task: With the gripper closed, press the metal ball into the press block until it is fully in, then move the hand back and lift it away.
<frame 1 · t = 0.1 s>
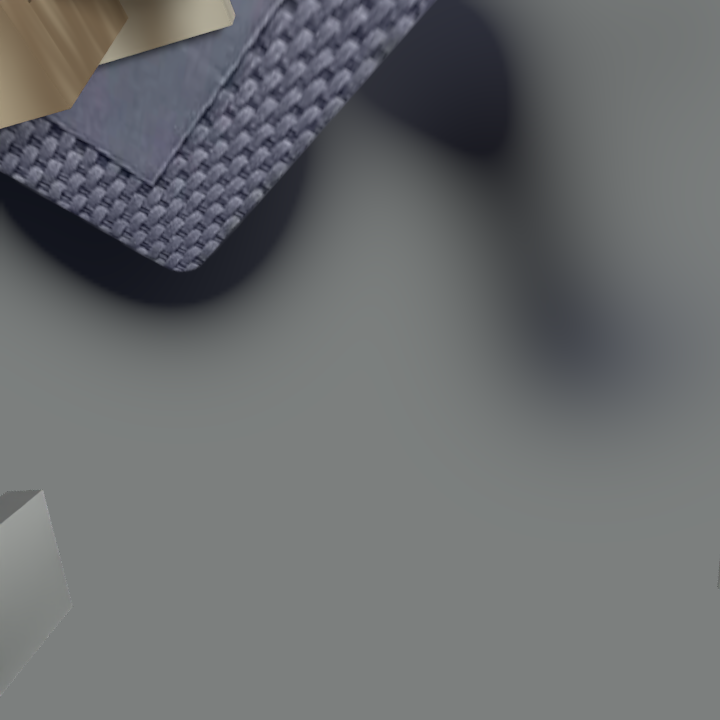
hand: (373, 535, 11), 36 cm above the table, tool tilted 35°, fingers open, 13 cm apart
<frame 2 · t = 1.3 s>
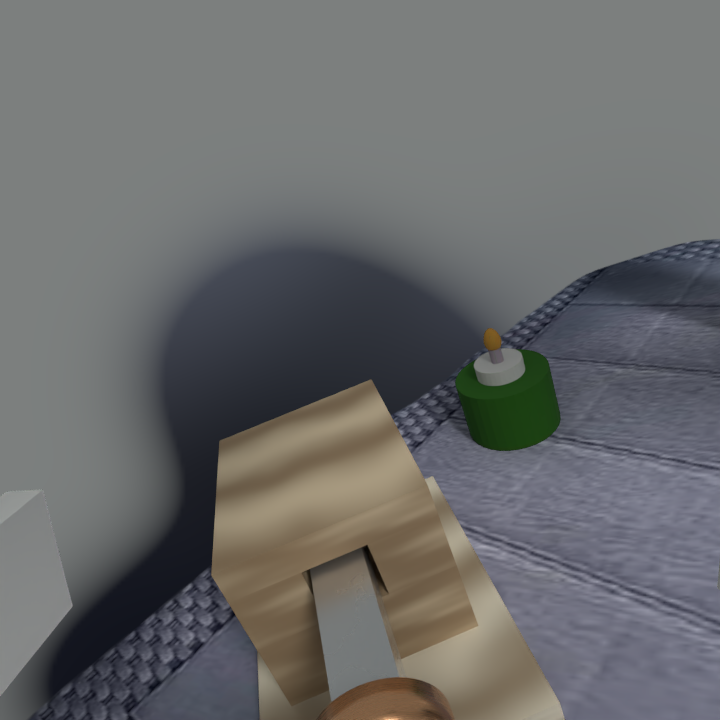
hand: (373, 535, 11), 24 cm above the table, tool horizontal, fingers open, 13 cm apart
candle: (514, 424, 54), on the table
metal ball: (355, 622, 29), point 8 cm above the table, slide at 8.0 cm
press block: (372, 607, 40), on the table
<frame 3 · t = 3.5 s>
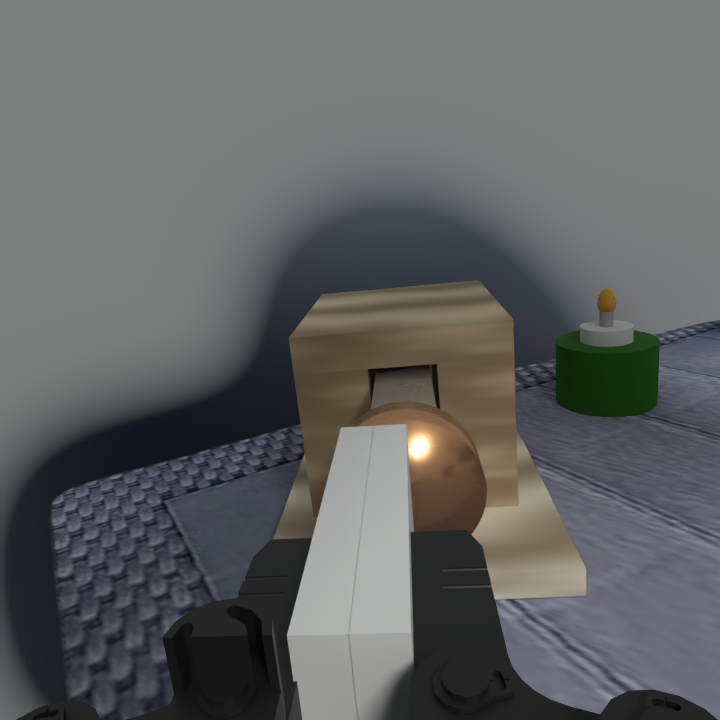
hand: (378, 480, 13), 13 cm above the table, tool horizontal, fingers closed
candle: (605, 401, 52), on the table
metal ball: (405, 417, 29), point 8 cm above the table, slide at 8.0 cm
press block: (414, 484, 40), on the table
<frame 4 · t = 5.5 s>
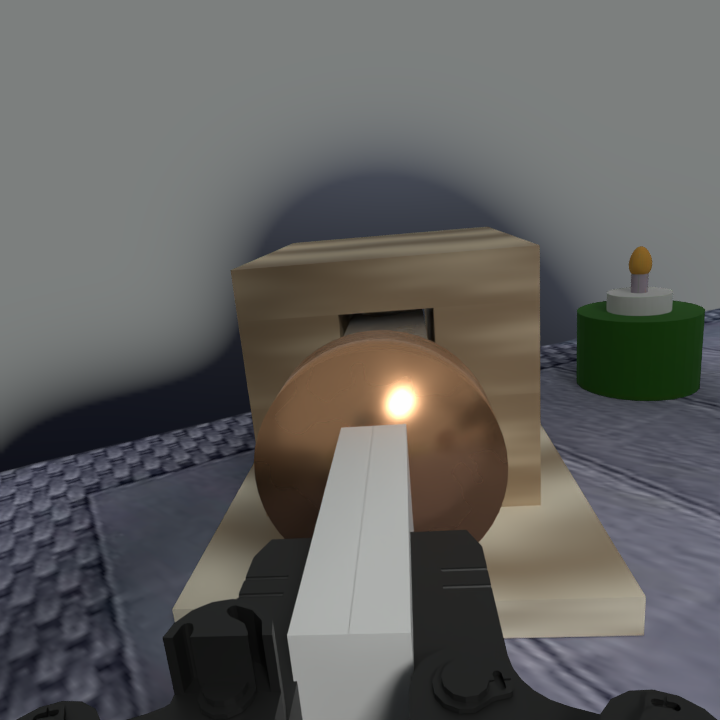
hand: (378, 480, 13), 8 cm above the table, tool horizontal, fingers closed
candle: (635, 384, 43), on the table
metal ball: (387, 375, 21), point 8 cm above the table, slide at 7.7 cm
press block: (402, 478, 32), on the table
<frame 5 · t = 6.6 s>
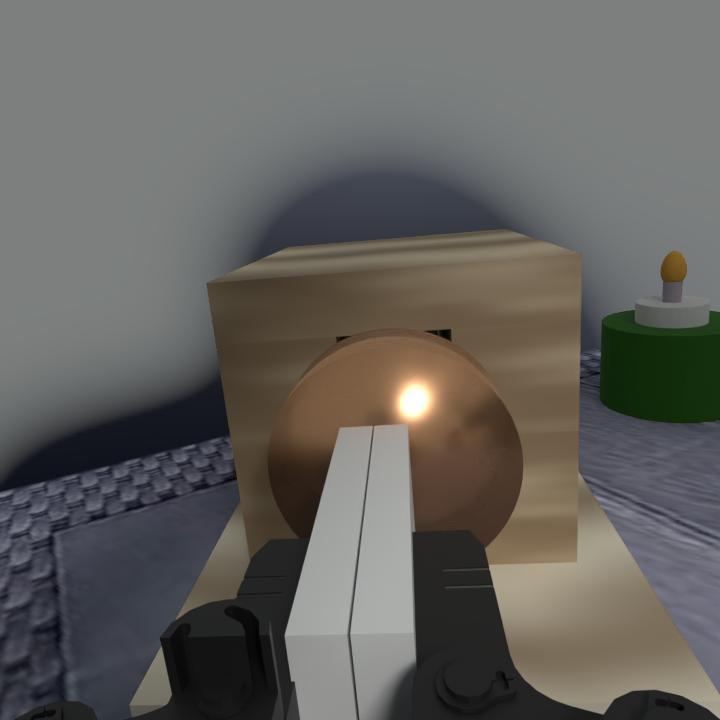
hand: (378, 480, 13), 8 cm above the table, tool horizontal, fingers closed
candle: (665, 403, 39), on the table
metal ball: (397, 373, 21), point 9 cm above the table, slide at 3.7 cm, touching gripper
press block: (411, 517, 28), on the table
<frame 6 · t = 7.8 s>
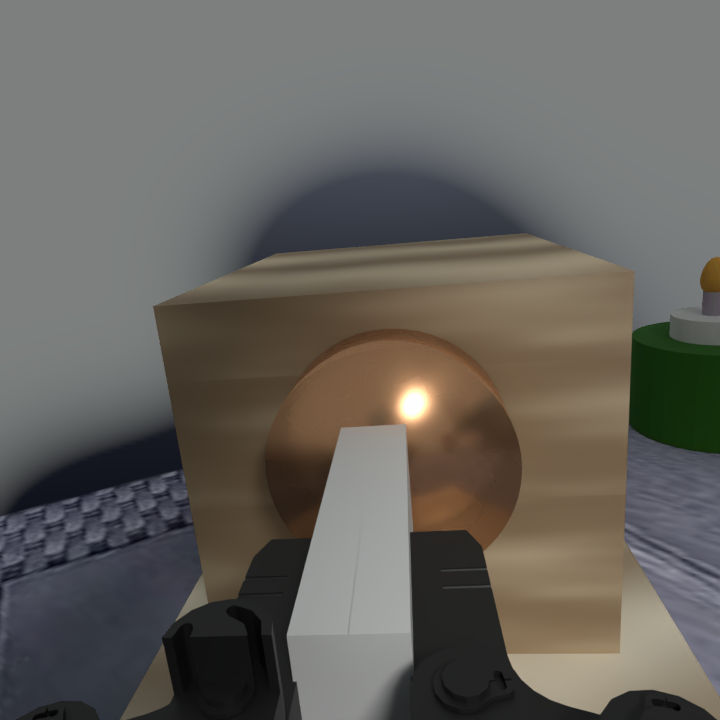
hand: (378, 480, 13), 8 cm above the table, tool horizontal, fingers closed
candle: (704, 427, 35), on the table
metal ball: (399, 374, 21), point 8 cm above the table, slide at -0.5 cm, touching gripper, press block
press block: (414, 572, 23), on the table
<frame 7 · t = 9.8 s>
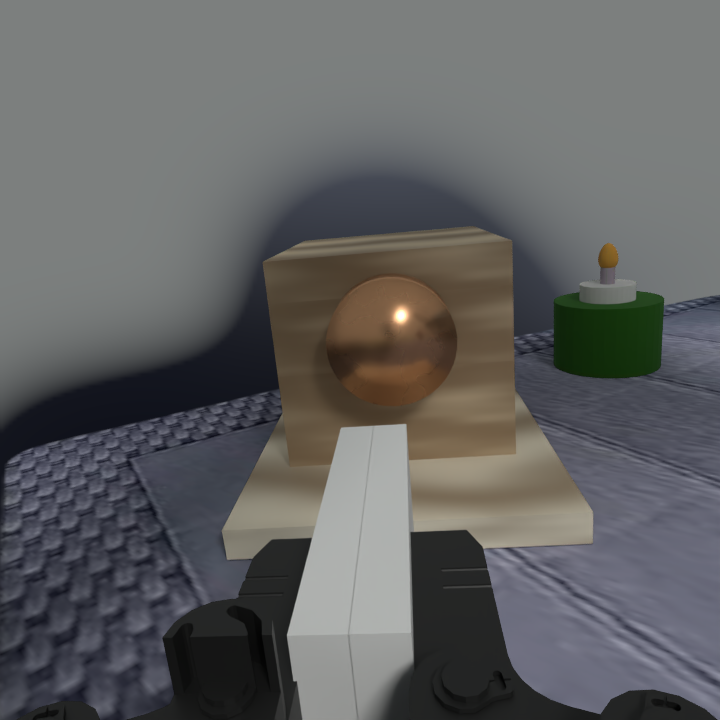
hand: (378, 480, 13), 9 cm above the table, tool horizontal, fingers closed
candle: (605, 365, 49), on the table
metal ball: (391, 312, 34), point 9 cm above the table, slide at 0.0 cm
press block: (401, 441, 37), on the table
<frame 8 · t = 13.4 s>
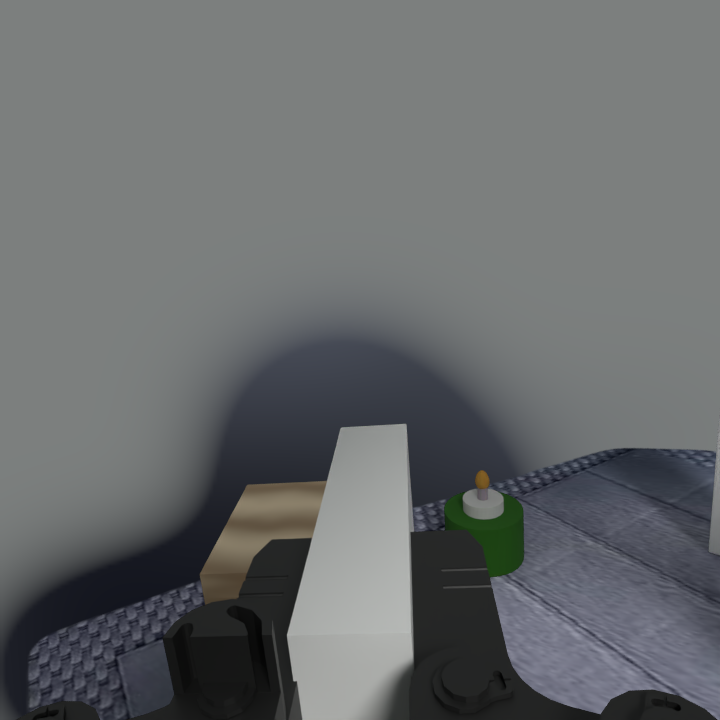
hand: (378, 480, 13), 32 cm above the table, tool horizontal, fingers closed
candle: (484, 555, 64), on the table
press block: (309, 650, 52), on the table
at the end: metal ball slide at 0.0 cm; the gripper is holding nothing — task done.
